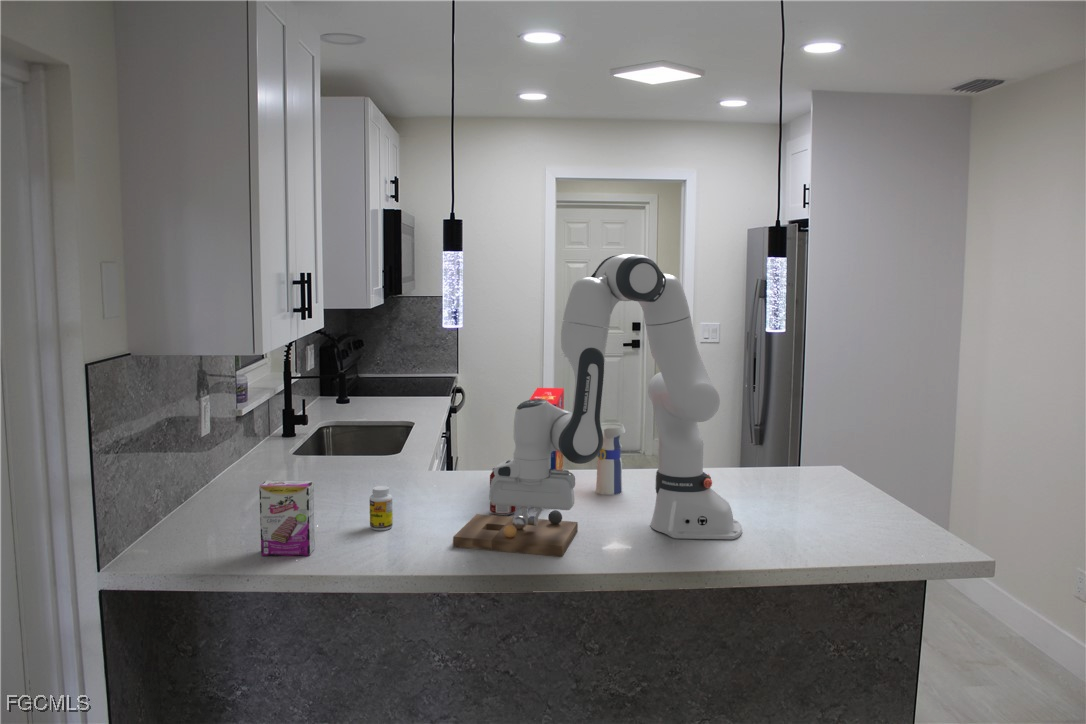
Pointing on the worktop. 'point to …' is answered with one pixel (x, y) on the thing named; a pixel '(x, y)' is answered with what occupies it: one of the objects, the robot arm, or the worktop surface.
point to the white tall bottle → (610, 460)
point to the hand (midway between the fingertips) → (531, 524)
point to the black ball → (555, 517)
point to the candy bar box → (287, 518)
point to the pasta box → (557, 399)
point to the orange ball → (510, 531)
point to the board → (516, 536)
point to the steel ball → (519, 522)
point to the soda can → (500, 509)
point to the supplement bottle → (381, 509)
